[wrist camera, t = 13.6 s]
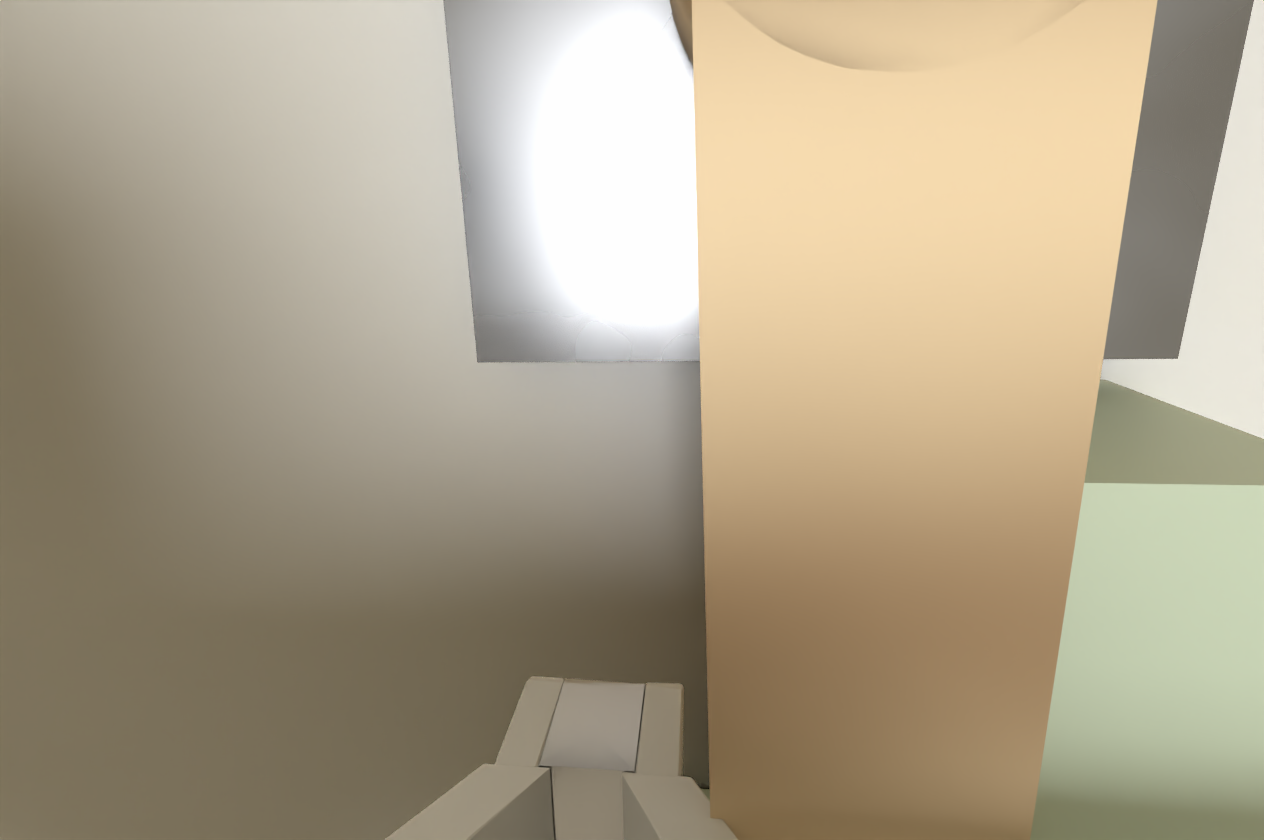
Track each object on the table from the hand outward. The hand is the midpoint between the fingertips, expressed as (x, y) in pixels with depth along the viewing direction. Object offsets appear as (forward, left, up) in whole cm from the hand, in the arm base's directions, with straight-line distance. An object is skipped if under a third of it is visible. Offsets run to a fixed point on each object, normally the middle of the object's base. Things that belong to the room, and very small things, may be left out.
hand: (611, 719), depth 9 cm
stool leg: (+3, +4, -1) cm, 5 cm away
